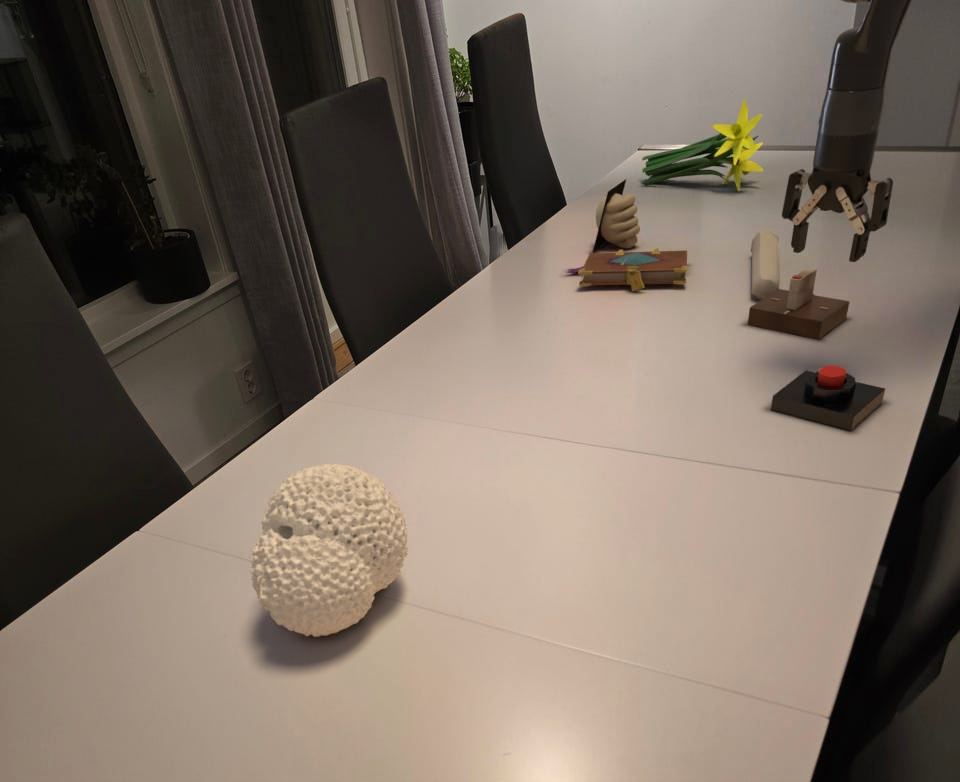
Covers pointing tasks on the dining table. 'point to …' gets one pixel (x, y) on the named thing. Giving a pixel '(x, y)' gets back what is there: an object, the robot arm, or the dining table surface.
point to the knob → (801, 288)
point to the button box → (828, 400)
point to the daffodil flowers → (734, 146)
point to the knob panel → (798, 314)
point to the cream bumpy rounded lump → (327, 548)
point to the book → (634, 268)
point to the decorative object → (617, 219)
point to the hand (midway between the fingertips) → (825, 255)
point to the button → (831, 376)
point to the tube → (765, 264)
